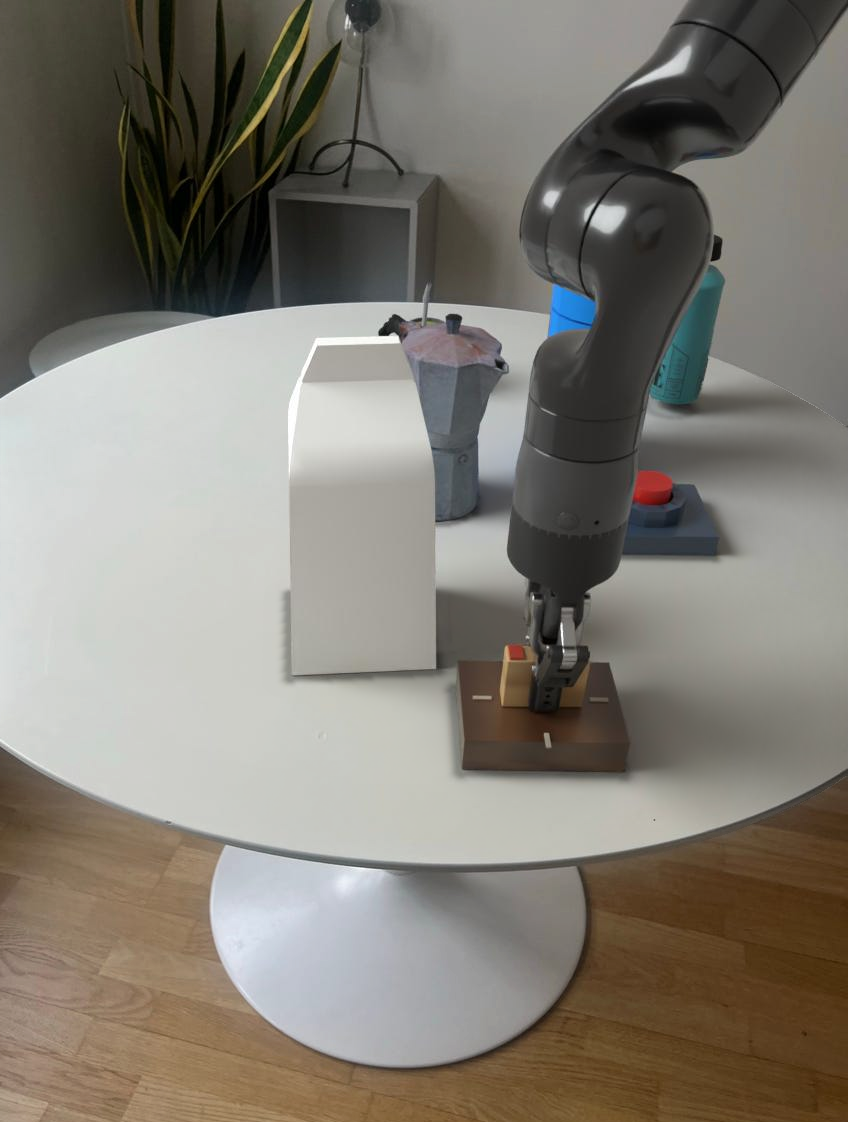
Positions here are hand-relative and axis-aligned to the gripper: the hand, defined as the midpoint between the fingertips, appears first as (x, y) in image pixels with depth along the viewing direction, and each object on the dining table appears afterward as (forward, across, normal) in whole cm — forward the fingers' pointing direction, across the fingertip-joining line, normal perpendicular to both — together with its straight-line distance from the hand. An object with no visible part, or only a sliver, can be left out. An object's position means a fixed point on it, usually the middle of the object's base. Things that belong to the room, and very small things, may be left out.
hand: (540, 697), depth 73 cm
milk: (+3, +12, +14) cm, 19 cm away
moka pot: (+3, +34, +7) cm, 35 cm away
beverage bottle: (+3, +57, -24) cm, 62 cm away
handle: (0, 0, 0) cm, 0 cm away
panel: (+3, 0, 0) cm, 3 cm away
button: (0, +29, -14) cm, 32 cm away
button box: (+3, +29, -14) cm, 32 cm away
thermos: (+3, +43, -10) cm, 44 cm away
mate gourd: (+3, +61, +6) cm, 61 cm away
